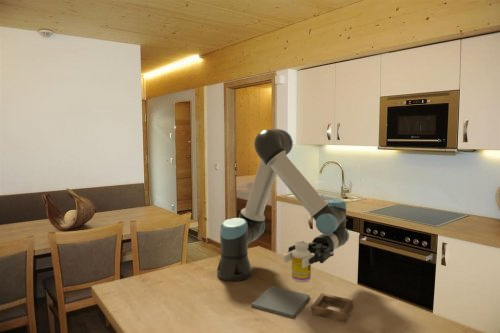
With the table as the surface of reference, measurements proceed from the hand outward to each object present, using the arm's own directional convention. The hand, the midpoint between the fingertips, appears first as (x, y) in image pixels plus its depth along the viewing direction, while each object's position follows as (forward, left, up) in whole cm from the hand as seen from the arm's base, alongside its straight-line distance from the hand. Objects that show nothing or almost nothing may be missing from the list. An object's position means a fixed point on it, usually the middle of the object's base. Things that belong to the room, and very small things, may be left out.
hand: (293, 261), depth 119 cm
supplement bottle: (+1, +5, -8) cm, 10 cm away
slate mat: (-6, +4, -18) cm, 19 cm away
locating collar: (+12, +7, -18) cm, 22 cm away
